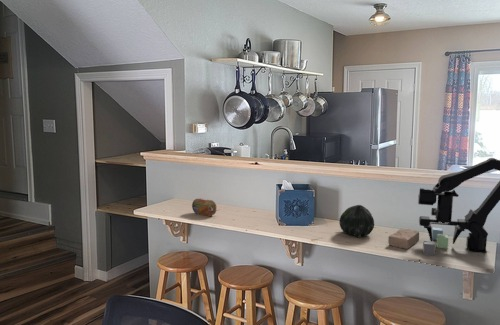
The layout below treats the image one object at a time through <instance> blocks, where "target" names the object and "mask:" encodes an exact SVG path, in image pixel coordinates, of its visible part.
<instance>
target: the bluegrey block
mask: <svg viewBox="0 0 500 325" xmlns="http://www.w3.org/2000/svg"><path fill="white" fill-rule="evenodd" d="M431 227H432V226H431ZM437 234H441V235H444V230H443V227H432V241H437Z"/></svg>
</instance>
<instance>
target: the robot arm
mask: <svg viewBox="0 0 500 325" xmlns="http://www.w3.org/2000/svg"><path fill="white" fill-rule="evenodd" d="M492 170H496V171H499V172H500V159H497V158H495V157H489V158H487V159H486V160H484V161H481V162H479V163H477V164H474V165H473V166H470V167H467V168H465V169H463V170H460V171H458V172H451V173H448V174H444V175H441V176H440V177H439V178H438V181H437V183H436V184H435V185H434V186H433V188H424V187H419V190H418V196H417V197H418V198H417V199H418V200H417V203H418V205H421V206H422V205H424V206H425V205H427V206H434V205H435V204H436V203H437V205H436V206H437V207H431V211H430V214H431V216H434V217H435V219H433V218H431V217H430V216H423V215H421V216H419V218H418V223H419V226H421V227H422V226H423V228H424V229H426V230H427V233H428V236H429V241H432V242H433V240H432V225H441V226H442V225H443V226H454V231H453V237H452V244H453V245H455V243H456V241H457V239H458V238H459V236H460V235H461V233H462V232H465V231H466V230H467V231H469V232H468V236H466V240H465V241H466V244H465V245H466V248H467V250H468V251H469V252H479V253H487V252H488V251H487V243H488V242H487V241H488V236H489V233H488V231H487V230H486V229H485V227H484V226H485V224H486V222H487V218H488V216H489V214H490V213H491V212H492V210H493V209H494V208H495V207H496V206H497V205H498V204H499V202H500V180H499V181H498V182H497V184H496V185H495V186H494V188H492V190H491V191H490V193H489V194H488V195H487V196H486V197H485V199H484V200H483V201H482V203H480V205H479V207H477V208H476V209H474V210H473V209H471V208H470V209H469V211H468V213H467V214H466V215H464V219H463V218H456V220H452V218H453V216H452V215H453V204H454V203H453V202H454V198H455V197H456V198H458V197H459V196H460V195H459V194H458V192H456V190H455V189H456V188H457V187H459V186H460V185H461V184H463V183H464V182H466V181H468V180H470V179H473V178H475V177H477V176H481V175H483V174H485V173H487V172H490V171H492Z"/></svg>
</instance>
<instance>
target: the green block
mask: <svg viewBox="0 0 500 325" xmlns="http://www.w3.org/2000/svg"><path fill="white" fill-rule="evenodd" d="M435 241H436V243H435V246H436V247H437V248H441V249H449V236H448V234H443V235H441V234H437V240H435Z"/></svg>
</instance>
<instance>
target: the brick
mask: <svg viewBox="0 0 500 325" xmlns="http://www.w3.org/2000/svg"><path fill="white" fill-rule="evenodd" d="M387 240H388V242H387V243H388V245H389V246H391V247H395V248H398V249H404V250H408V249H410V248H412V246H413V245H414V244H416V243H417V242H419V240H420V231H419V230H416V229H410V228H405V227H404V228H403V227H402V228H400V229H397V231H396V232H394V233H391V234H389V235H388V239H387Z"/></svg>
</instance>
